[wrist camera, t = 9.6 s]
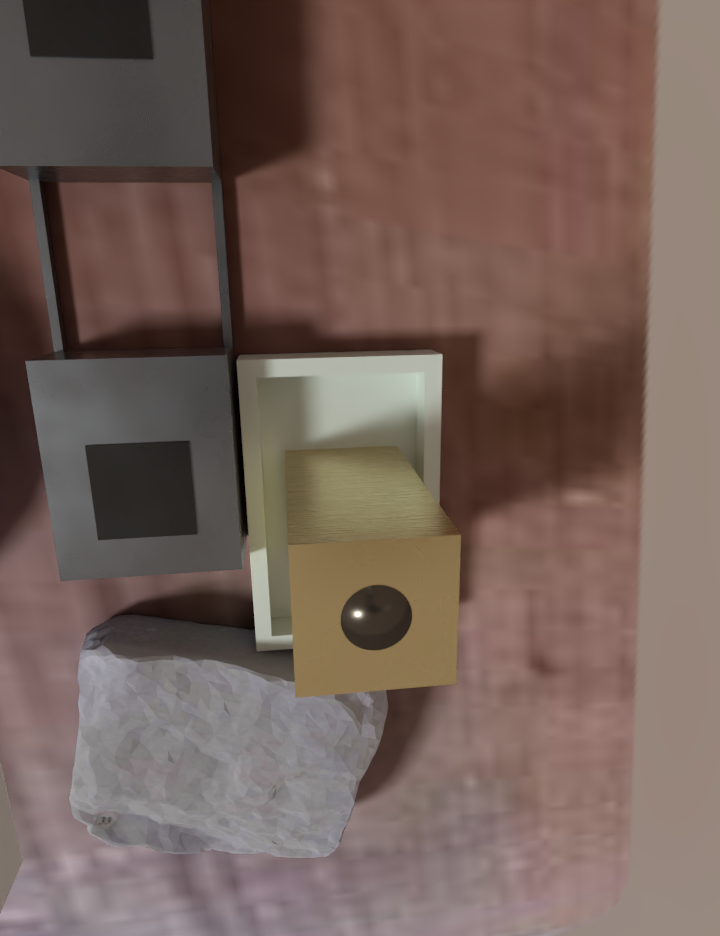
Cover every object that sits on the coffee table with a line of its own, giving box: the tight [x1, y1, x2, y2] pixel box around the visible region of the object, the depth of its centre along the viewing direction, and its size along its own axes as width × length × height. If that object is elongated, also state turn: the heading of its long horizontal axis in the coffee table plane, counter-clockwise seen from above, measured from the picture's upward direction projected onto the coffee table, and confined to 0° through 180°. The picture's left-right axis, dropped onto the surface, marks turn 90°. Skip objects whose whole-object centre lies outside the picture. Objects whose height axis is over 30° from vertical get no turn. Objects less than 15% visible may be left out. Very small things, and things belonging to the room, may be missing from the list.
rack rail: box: [0, 0, 247, 581], centre depth 20 cm, size 20×6×3 cm, turn 1°
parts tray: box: [237, 349, 443, 651], centre depth 24 cm, size 11×7×2 cm, turn 1°
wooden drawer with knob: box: [285, 446, 461, 698], centre depth 20 cm, size 4×4×9 cm
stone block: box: [69, 615, 388, 858], centre depth 26 cm, size 12×5×10 cm
